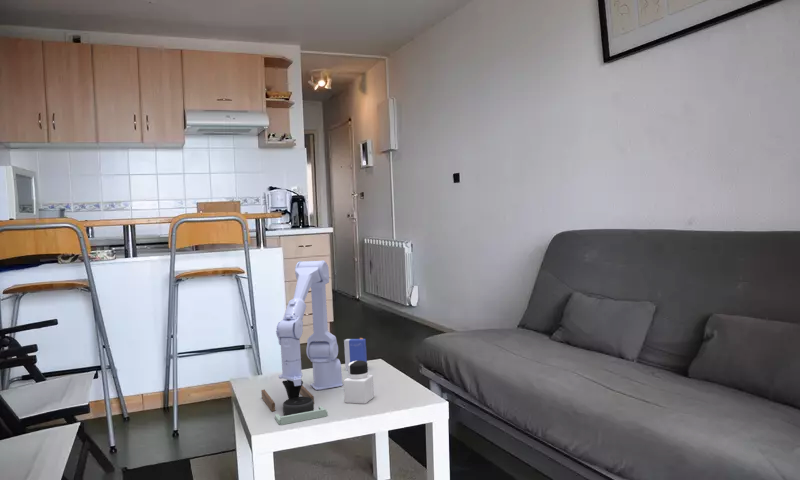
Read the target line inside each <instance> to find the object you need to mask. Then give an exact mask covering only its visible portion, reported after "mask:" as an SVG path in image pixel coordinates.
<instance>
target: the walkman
mask: <svg viewBox="0 0 800 480" xmlns="http://www.w3.org/2000/svg"><path fill="white" fill-rule="evenodd" d="M343 343H344V344H343V345H344V348H343V349H344V361H345V364H344V365H345V372H348V364H349V363H350V362H353V361H365V362H367V363H368V360H367V359H368V358H367V357H368V356H367V341H366V338H363V337H359V338H346V339H343Z"/></svg>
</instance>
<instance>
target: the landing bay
mask: <svg viewBox="0 0 800 480" xmlns="http://www.w3.org/2000/svg"><path fill="white" fill-rule="evenodd" d="M328 414H329V413H328V410H327V408H324V406H322V405H321V406H318V409H316V410H315V409H314V411H309V412H303V413H298V414H292V415H287V416H285V415H282V416H280V414H279V413H274V420H275V421H276V422H277V424H278V425H280V426H283V425H287V424H293V423H299V422H303V421H309V420H314V419H319V418H324V417H327V416H329V415H328Z"/></svg>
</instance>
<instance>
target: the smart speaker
mask: <svg viewBox="0 0 800 480" xmlns="http://www.w3.org/2000/svg"><path fill="white" fill-rule="evenodd" d="M314 405H315V401H314V402H313V400H312V399H311V398H309V397H303V396H299V397H294V398H290V399H288V398H287V399H286V400H284V402H283V403H282V413H283V416H287V415H292V414H298V413H303V412H309V411H314V410H315V407H314Z"/></svg>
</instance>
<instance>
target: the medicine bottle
mask: <svg viewBox="0 0 800 480" xmlns="http://www.w3.org/2000/svg"><path fill="white" fill-rule="evenodd" d="M347 372H348V377H347V378H345V379H344V380H343V392H344V394H343V395H344V402H345V403H346V404H367V403H368V402H370V401H371V400H372V399H373V398H375V390H374V389H375V387H374V375H373V374H369V371H368V361H367V362H365V361H353V362H350V363H349V364H348V371H347Z"/></svg>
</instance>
